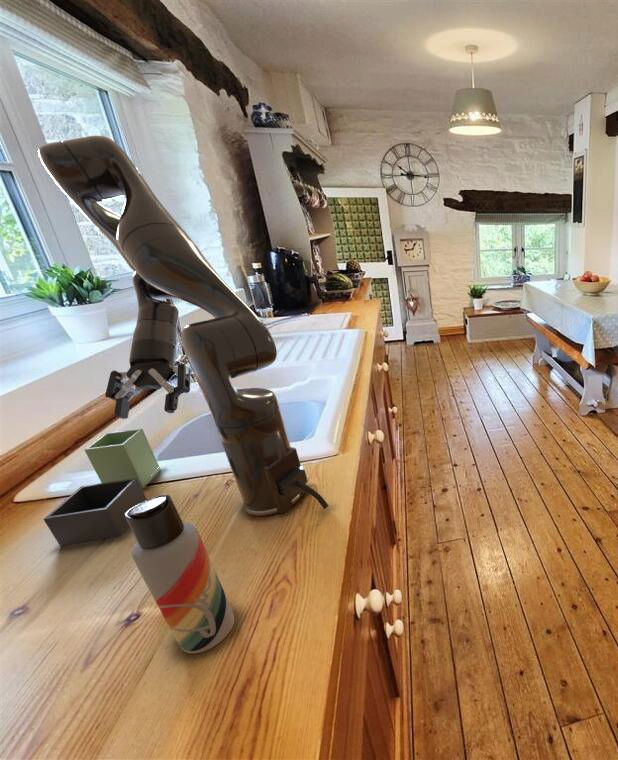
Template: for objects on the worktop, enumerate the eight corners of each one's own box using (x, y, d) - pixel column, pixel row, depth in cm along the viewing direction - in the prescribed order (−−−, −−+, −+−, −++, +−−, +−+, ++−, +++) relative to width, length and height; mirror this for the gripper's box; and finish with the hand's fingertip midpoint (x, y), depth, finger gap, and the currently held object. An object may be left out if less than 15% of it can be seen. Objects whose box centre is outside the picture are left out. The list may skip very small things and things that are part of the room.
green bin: (127, 476, 82) (106, 432, 78) (161, 471, 83) (142, 428, 79) (107, 495, 76) (84, 449, 72) (144, 489, 77) (123, 444, 73)
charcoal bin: (96, 513, 72) (81, 486, 69) (150, 505, 73) (136, 477, 71) (61, 548, 64) (43, 519, 62) (122, 538, 66) (106, 509, 63)
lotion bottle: (193, 664, 47) (123, 530, 39) (172, 639, 50) (102, 510, 42) (244, 624, 51) (190, 496, 43) (221, 603, 54) (167, 480, 46)
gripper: (104, 340, 85) (91, 414, 80) (181, 334, 88) (174, 404, 83) (129, 356, 92) (119, 425, 87) (200, 349, 95) (194, 415, 89)
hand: (145, 414), depth 85 cm, fingers open, 8 cm apart
